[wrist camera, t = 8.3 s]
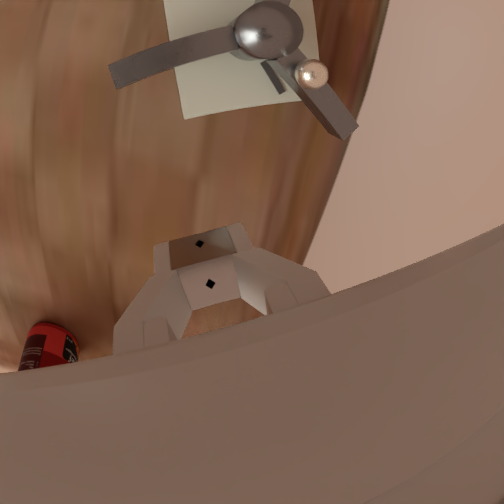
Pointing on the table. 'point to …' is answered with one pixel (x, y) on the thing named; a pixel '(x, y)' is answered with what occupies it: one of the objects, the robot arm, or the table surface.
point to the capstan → (251, 58)
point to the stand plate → (230, 59)
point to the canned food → (48, 347)
